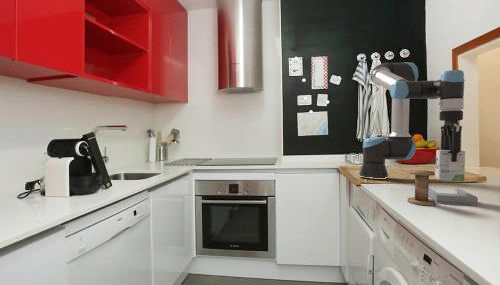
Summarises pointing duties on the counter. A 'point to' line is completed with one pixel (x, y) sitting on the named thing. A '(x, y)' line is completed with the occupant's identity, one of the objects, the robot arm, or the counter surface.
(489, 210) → the counter surface
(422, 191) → the bobbin
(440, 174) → the ink box
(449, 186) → the counter surface
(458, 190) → the grey piece
